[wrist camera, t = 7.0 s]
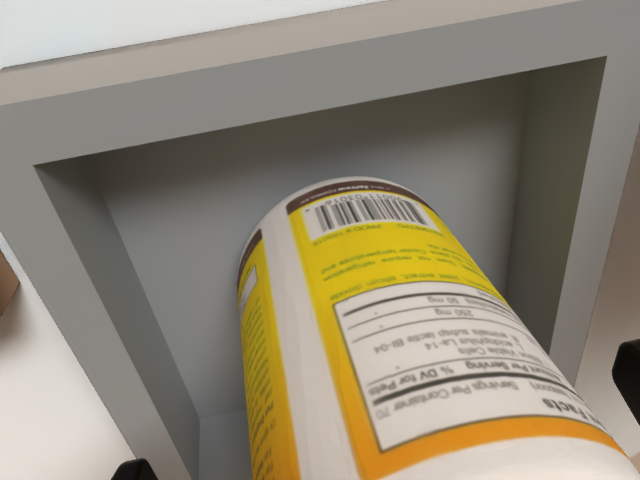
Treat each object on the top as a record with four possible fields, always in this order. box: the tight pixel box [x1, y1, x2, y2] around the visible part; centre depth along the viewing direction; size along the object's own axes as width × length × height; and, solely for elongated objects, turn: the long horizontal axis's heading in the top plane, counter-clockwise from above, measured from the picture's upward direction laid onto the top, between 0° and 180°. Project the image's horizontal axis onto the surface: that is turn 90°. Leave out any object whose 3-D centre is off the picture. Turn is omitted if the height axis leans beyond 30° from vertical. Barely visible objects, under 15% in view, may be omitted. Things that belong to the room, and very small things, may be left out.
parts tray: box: [0, 0, 640, 480], centre depth 12 cm, size 12×12×3 cm
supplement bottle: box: [237, 176, 640, 480], centre depth 9 cm, size 6×6×10 cm
